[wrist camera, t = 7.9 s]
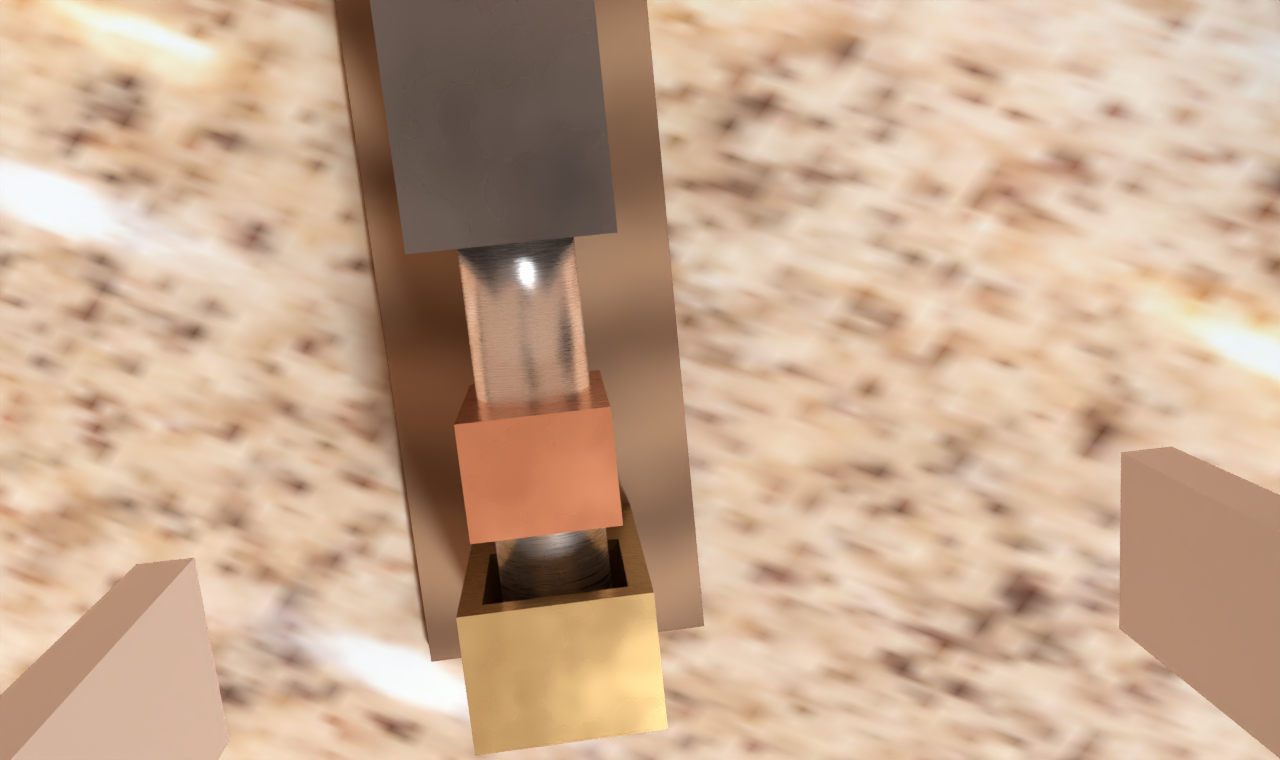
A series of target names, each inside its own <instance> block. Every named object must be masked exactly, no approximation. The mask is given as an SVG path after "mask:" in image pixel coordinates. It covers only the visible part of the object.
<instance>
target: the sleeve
mask: <svg viewBox="0 0 1280 760" xmlns="http://www.w3.org/2000/svg"><path fill="white" fill-rule="evenodd" d="M370 6H371V13H372V20H373V27H374V34H375V41H376V49H377V56H378V63H379V70H380V77H381V84H382V92H383V99H384V106H385V113H386V120H387V127H388V134H389V142H390V149H391V156H392V163H393V170H394V177H395V184H396V192H397V199H398V206H399V213H400V220H401V227H402V235H403V242H404V249H405V254H414V253H423V252H433V251H443V250H453V249H462V248H472V247H482V246H492V245H501V244H511V243H521V242H531V241H540V240H550V239H560V238H569V237H579V236H589V235H599V234H608V233H618V231H617V221H616V211H615V202H614V192H613V182H612V172H611V162H610V152H609V142H608V132H607V122H606V112H605V102H604V93H603V83H602V73H601V63H600V53H599V43H598V33H597V23H596V13H595V3H594V0H370Z"/></svg>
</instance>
